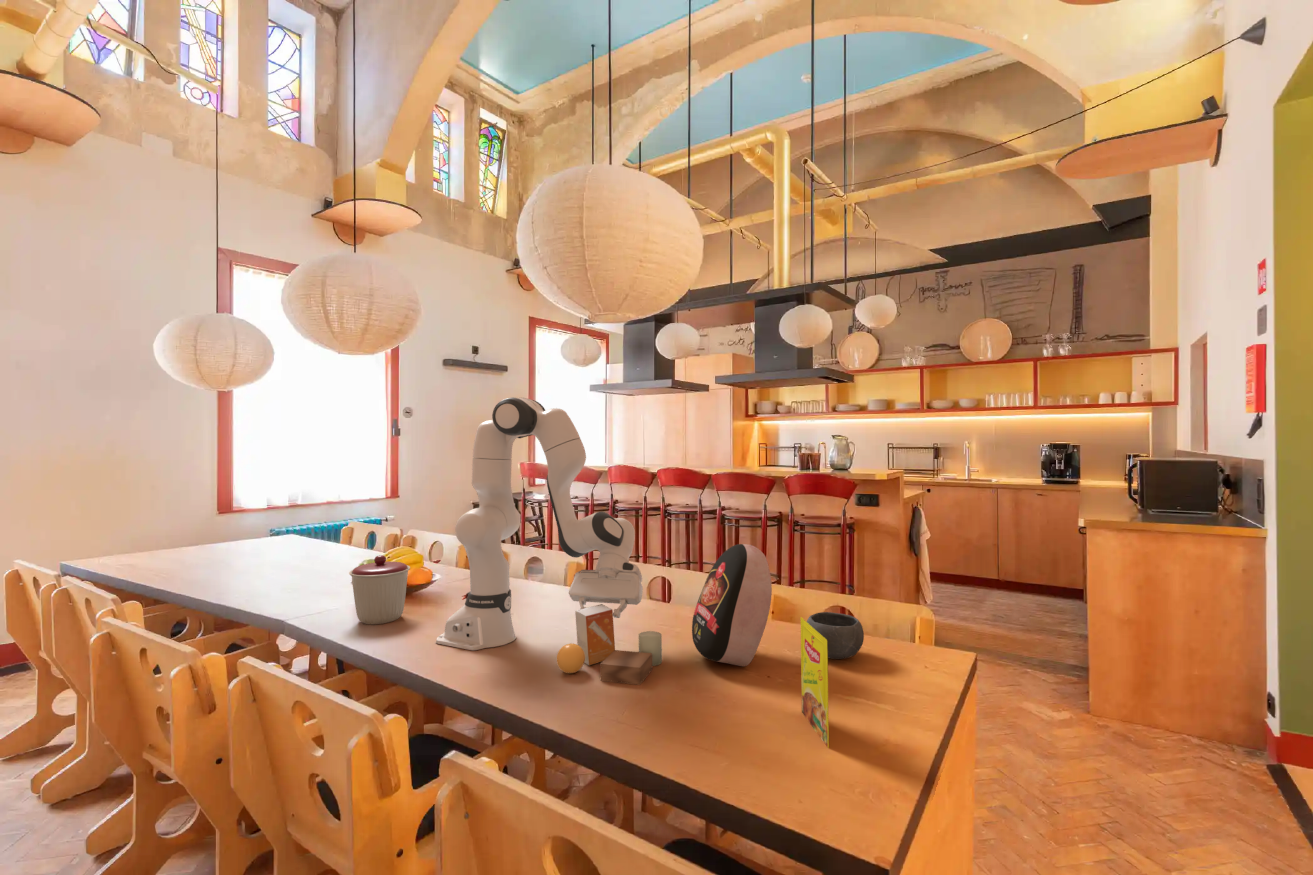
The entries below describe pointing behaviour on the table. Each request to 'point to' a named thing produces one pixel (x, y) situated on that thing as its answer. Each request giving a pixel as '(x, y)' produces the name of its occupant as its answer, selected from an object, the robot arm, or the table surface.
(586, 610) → the small box
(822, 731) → the food package
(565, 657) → the orange
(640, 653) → the brown block
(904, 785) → the table surface
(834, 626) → the bowl
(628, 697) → the table surface
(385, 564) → the canister
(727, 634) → the packaged food
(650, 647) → the pale green cylinder
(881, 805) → the table surface
